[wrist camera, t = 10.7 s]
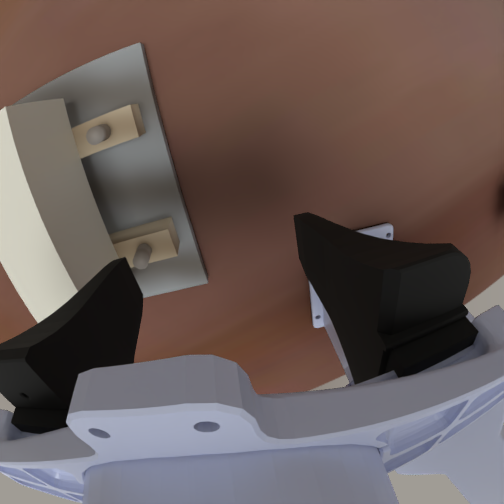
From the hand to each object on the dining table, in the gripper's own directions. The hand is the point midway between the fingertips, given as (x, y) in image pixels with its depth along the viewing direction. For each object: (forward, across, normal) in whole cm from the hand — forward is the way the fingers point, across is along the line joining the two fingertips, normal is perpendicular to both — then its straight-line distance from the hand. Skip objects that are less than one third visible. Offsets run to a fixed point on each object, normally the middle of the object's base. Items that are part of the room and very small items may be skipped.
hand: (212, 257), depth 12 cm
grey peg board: (+9, +9, -2) cm, 13 cm away
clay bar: (+6, +9, -2) cm, 11 cm away
